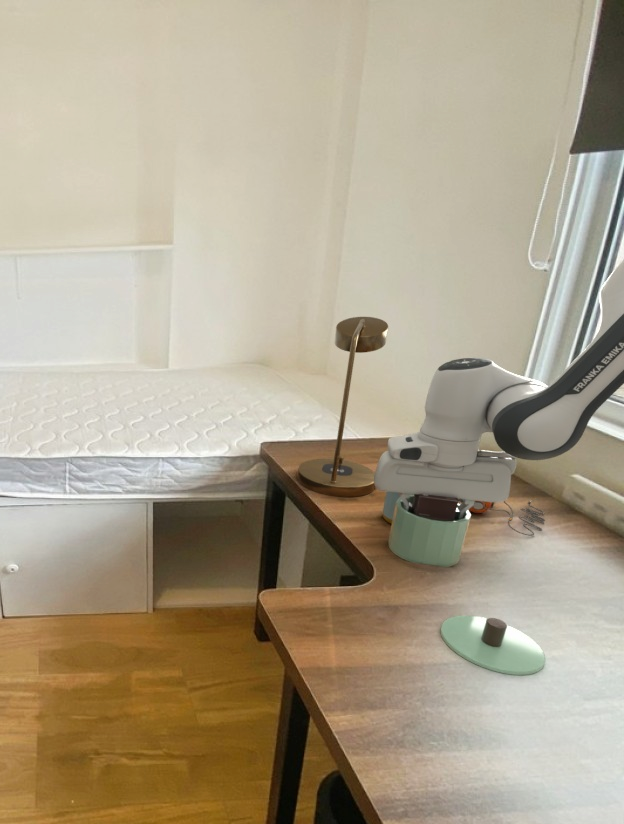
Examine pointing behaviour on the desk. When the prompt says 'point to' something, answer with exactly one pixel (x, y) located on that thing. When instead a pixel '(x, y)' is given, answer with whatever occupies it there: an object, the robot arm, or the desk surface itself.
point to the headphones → (484, 506)
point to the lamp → (337, 472)
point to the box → (435, 507)
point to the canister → (427, 537)
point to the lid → (493, 645)
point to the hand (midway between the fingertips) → (431, 515)
